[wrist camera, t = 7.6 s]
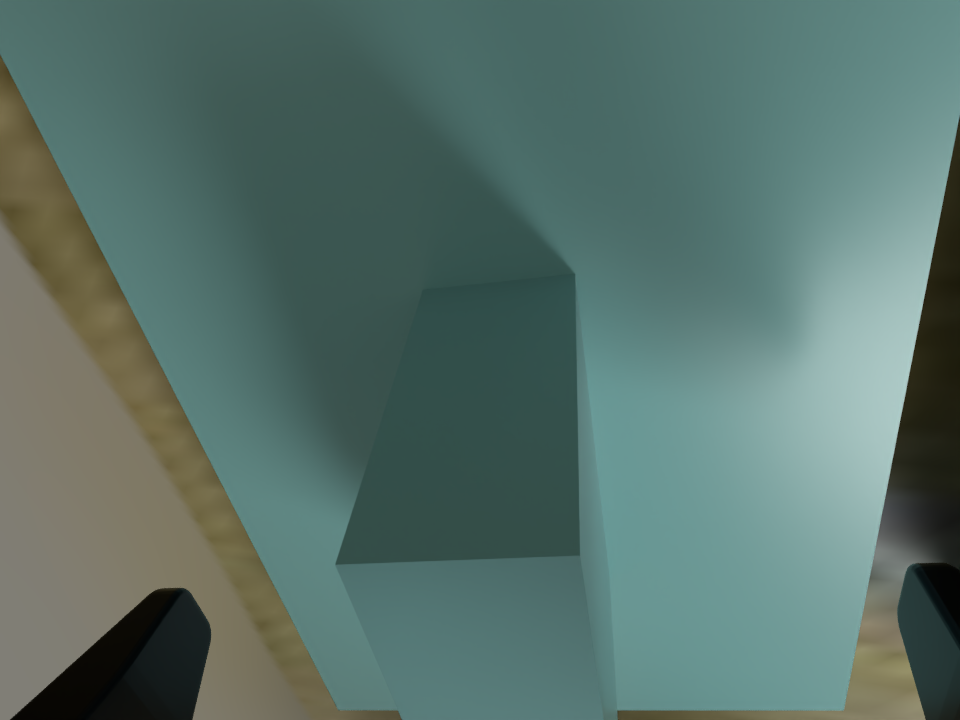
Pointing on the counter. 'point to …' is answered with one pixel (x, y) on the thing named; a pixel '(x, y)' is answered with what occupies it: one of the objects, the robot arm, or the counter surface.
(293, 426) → the lid
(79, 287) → the counter surface
